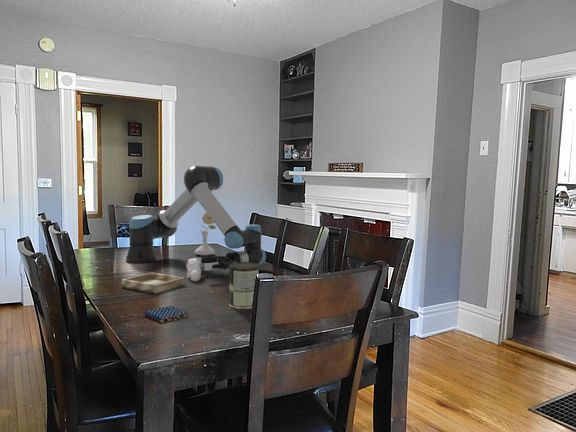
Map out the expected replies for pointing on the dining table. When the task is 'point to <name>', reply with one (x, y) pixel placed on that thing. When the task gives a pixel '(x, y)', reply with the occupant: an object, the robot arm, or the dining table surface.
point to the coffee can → (242, 284)
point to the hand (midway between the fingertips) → (196, 264)
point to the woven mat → (166, 313)
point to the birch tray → (153, 282)
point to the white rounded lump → (194, 269)
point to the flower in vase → (205, 237)
